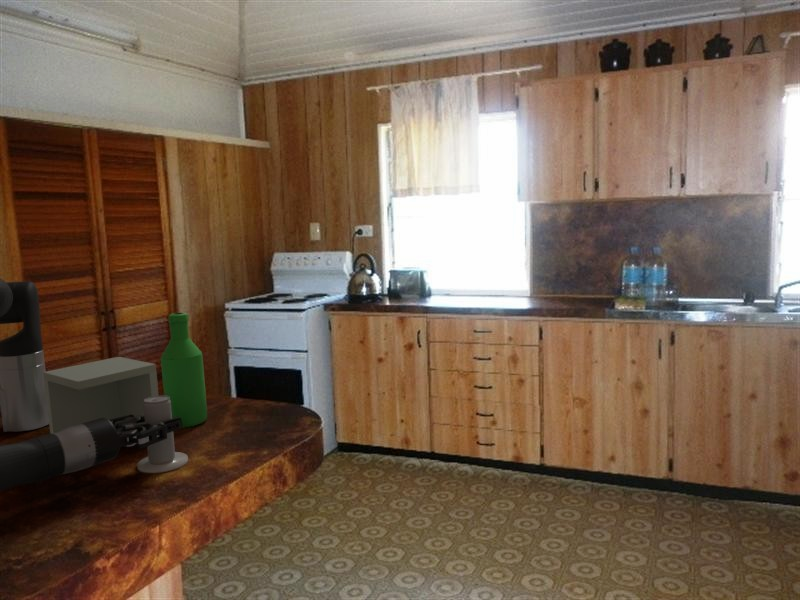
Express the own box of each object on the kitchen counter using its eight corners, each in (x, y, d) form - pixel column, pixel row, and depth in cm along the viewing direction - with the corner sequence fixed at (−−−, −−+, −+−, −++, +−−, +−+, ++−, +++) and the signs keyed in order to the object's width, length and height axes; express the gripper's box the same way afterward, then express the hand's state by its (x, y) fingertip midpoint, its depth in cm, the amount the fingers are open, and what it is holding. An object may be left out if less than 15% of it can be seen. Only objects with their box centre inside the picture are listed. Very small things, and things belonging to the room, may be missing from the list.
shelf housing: (87, 470, 122) (77, 381, 119) (52, 455, 131) (43, 372, 128) (163, 445, 133) (155, 364, 131) (126, 433, 143) (118, 356, 140)
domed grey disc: (137, 476, 118) (136, 473, 118) (137, 459, 126) (137, 456, 126) (189, 467, 121) (189, 464, 121) (186, 451, 129) (186, 449, 129)
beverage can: (180, 457, 125) (175, 396, 123) (164, 466, 120) (158, 403, 119) (159, 455, 126) (154, 394, 125) (142, 464, 122) (137, 401, 120)
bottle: (195, 429, 143) (185, 316, 140) (159, 428, 145) (148, 317, 141) (214, 417, 152) (205, 310, 148) (180, 416, 153) (170, 310, 150)
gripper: (101, 432, 107) (191, 406, 119) (61, 417, 116) (149, 394, 129) (106, 476, 108) (195, 445, 120) (65, 458, 117) (152, 431, 129)
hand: (171, 419), depth 124 cm, fingers open, 6 cm apart
